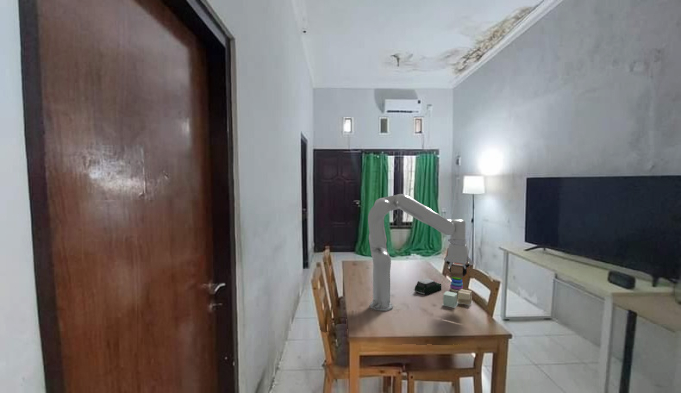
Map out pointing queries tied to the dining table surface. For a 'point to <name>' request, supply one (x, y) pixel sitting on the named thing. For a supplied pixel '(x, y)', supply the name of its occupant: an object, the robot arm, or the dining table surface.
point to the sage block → (450, 299)
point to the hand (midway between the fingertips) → (458, 273)
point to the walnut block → (457, 270)
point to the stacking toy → (456, 284)
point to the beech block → (465, 297)
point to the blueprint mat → (457, 304)
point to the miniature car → (427, 286)
